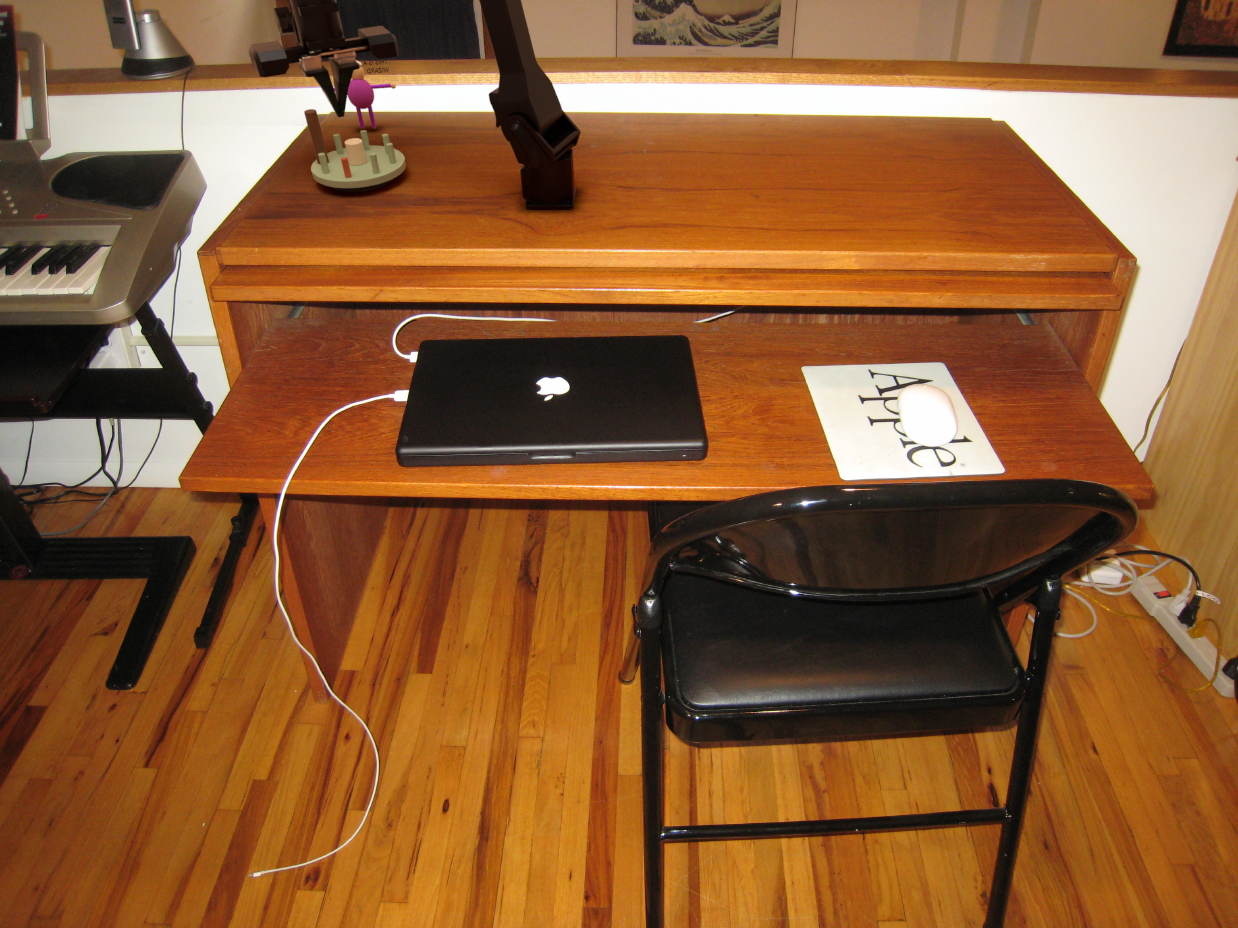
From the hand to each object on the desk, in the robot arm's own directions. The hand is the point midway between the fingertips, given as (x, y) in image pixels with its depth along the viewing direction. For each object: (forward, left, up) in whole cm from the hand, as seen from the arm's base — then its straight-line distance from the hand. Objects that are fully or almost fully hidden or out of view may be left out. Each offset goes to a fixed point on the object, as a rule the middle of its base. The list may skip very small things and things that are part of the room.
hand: (340, 116), depth 116 cm
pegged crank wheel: (-2, +4, -6) cm, 8 cm away
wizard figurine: (+2, -15, -8) cm, 17 cm away
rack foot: (-2, +4, -7) cm, 9 cm away
